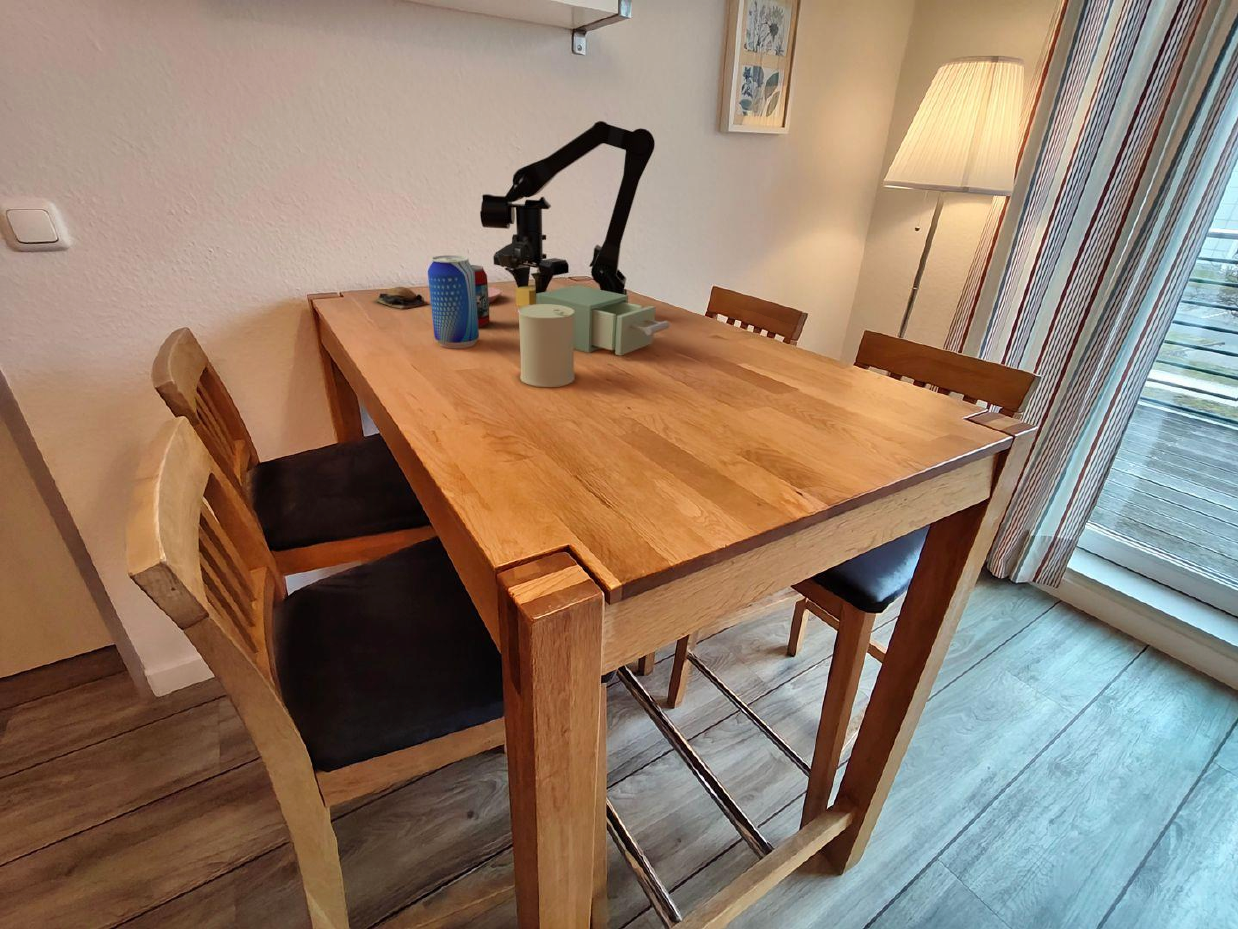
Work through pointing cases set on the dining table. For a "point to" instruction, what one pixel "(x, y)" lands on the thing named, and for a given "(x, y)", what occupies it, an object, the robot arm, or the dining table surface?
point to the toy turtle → (401, 298)
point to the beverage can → (481, 295)
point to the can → (547, 345)
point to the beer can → (453, 301)
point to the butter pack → (526, 295)
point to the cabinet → (581, 309)
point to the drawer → (624, 327)
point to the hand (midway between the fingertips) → (531, 300)
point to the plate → (493, 293)
